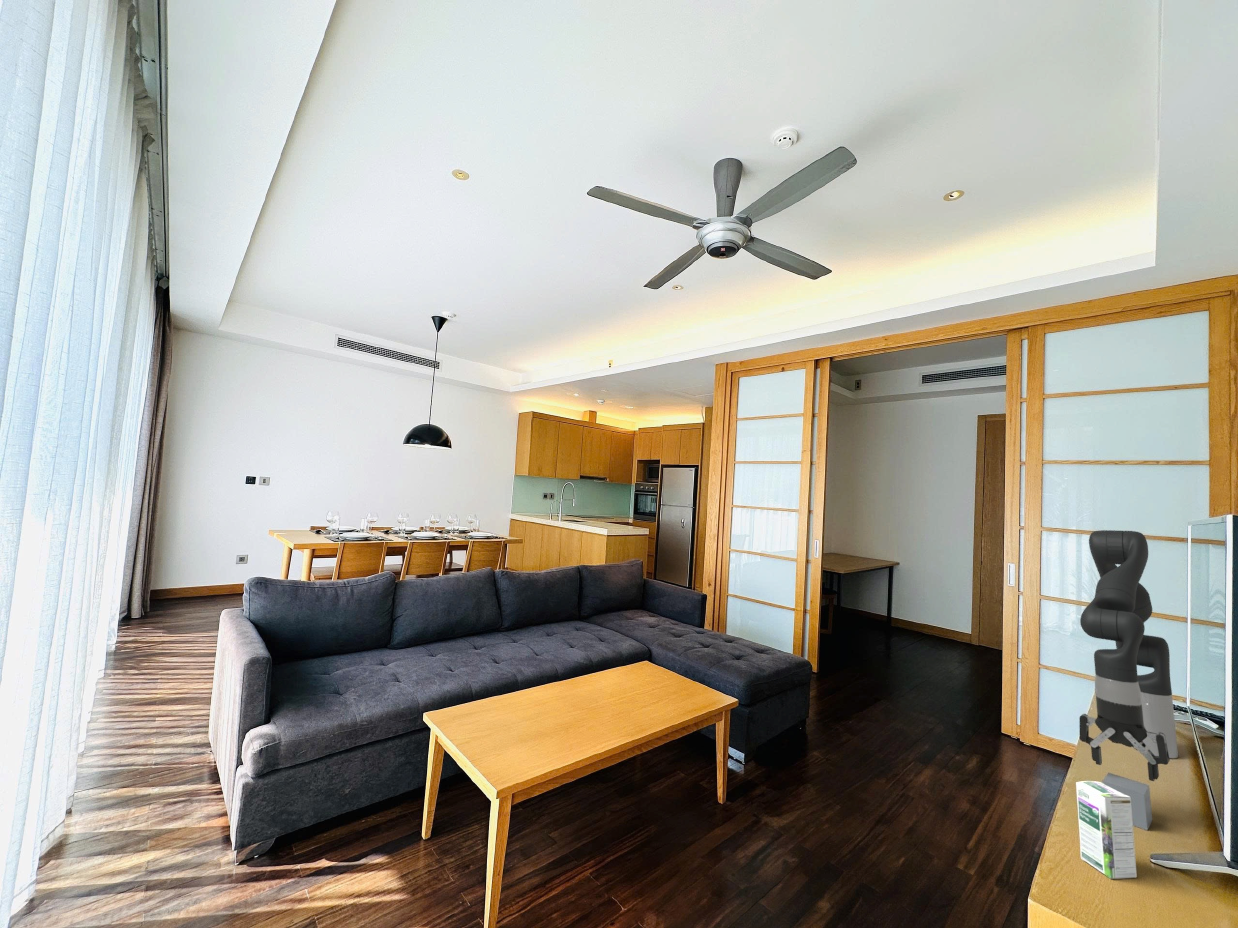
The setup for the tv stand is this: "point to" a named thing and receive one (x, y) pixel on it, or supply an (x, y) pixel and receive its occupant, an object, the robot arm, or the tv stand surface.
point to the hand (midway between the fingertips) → (1124, 771)
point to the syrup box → (1106, 829)
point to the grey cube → (1133, 798)
